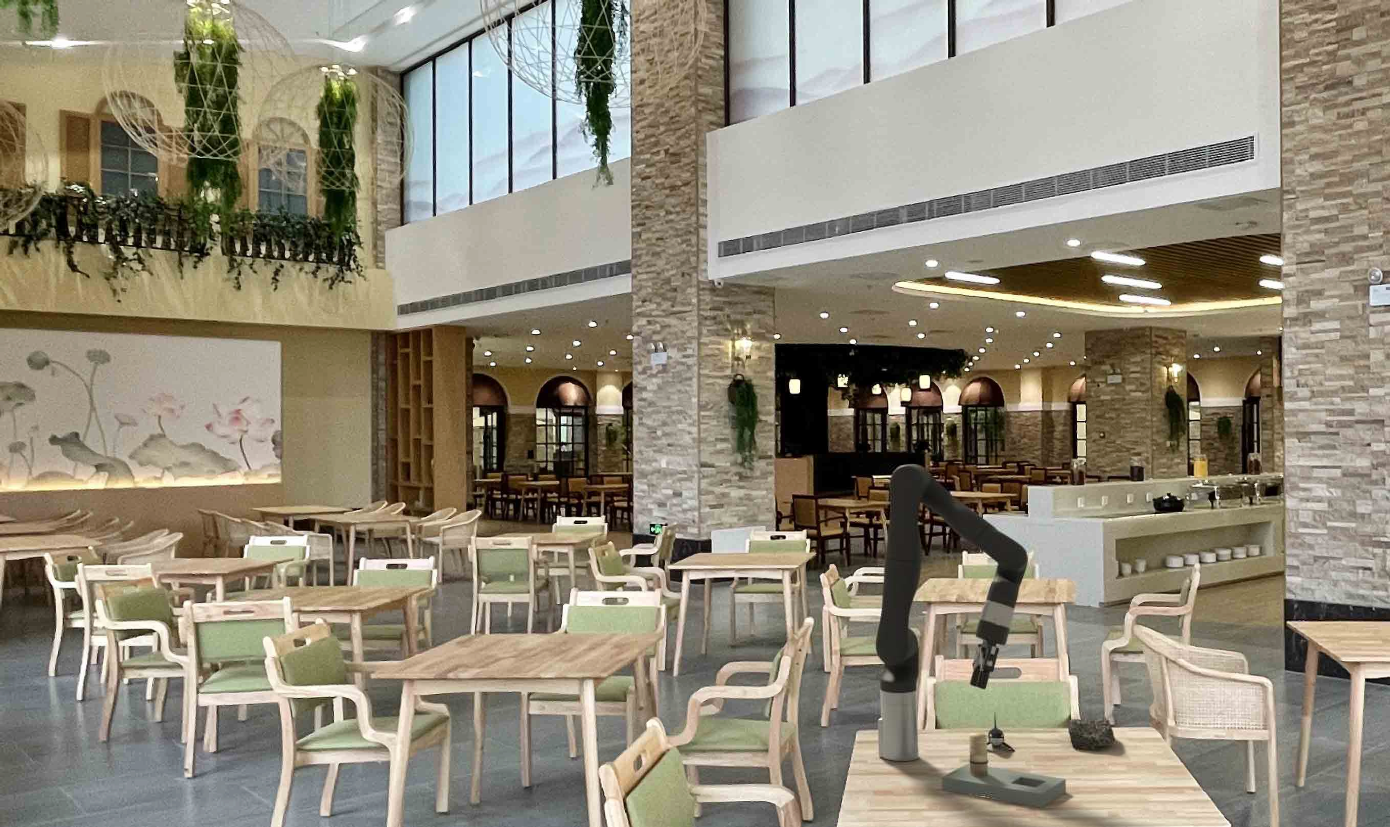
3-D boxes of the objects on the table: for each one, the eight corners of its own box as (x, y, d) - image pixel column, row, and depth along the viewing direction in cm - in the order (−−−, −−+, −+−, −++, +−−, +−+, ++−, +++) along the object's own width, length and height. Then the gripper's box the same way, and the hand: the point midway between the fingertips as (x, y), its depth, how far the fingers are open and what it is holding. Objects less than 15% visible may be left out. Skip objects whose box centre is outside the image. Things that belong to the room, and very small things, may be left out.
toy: (1017, 751, 304) (1015, 711, 306) (977, 750, 306) (976, 710, 308) (1013, 751, 323) (1011, 713, 326) (976, 750, 326) (975, 712, 328)
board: (942, 789, 276) (941, 776, 276) (968, 775, 287) (968, 763, 287) (1041, 807, 261) (1041, 794, 261) (1065, 792, 272) (1065, 779, 272)
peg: (966, 774, 277) (965, 735, 277) (974, 770, 281) (973, 732, 281) (983, 777, 275) (982, 738, 275) (991, 773, 278) (990, 734, 278)
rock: (1067, 713, 323) (1067, 736, 323) (1068, 727, 308) (1069, 751, 308) (1113, 715, 320) (1113, 738, 320) (1116, 729, 305) (1117, 753, 305)
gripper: (974, 617, 298) (957, 680, 295) (985, 617, 284) (967, 684, 281) (1004, 627, 297) (986, 690, 295) (1016, 627, 283) (998, 694, 281)
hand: (977, 687), depth 288 cm, fingers open, 8 cm apart
